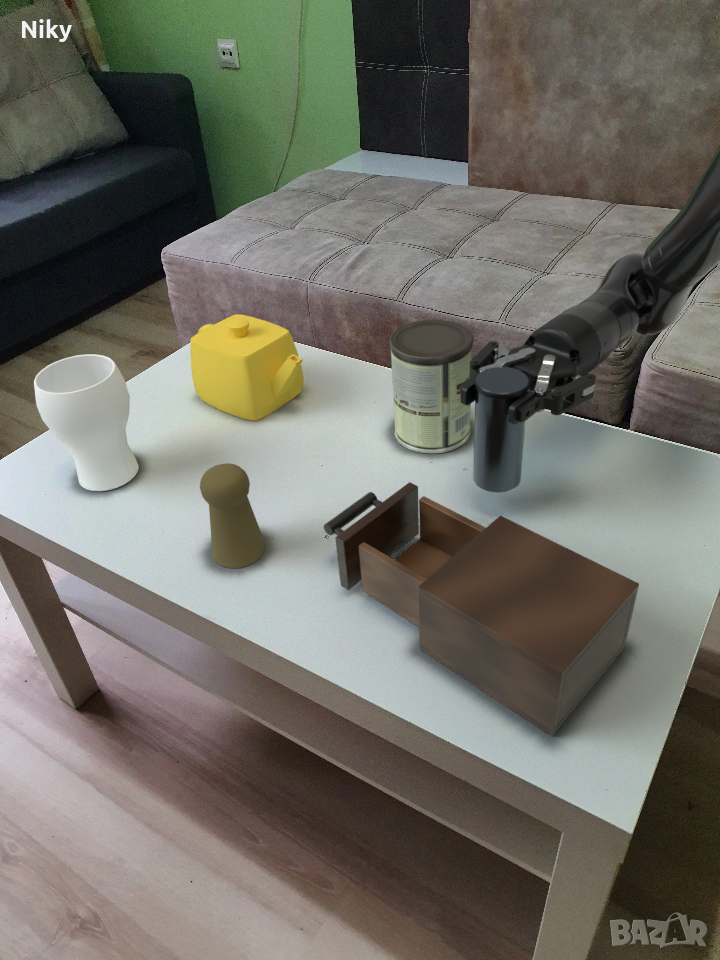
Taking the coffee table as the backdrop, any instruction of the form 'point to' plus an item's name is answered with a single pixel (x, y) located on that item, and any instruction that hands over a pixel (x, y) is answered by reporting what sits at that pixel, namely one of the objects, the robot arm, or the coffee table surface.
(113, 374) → the cup
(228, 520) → the pepper shaker
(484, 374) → the slate tube
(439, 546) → the drawer
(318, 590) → the coffee table surface
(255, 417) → the teapot
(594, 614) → the cabinet
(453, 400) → the coffee can
